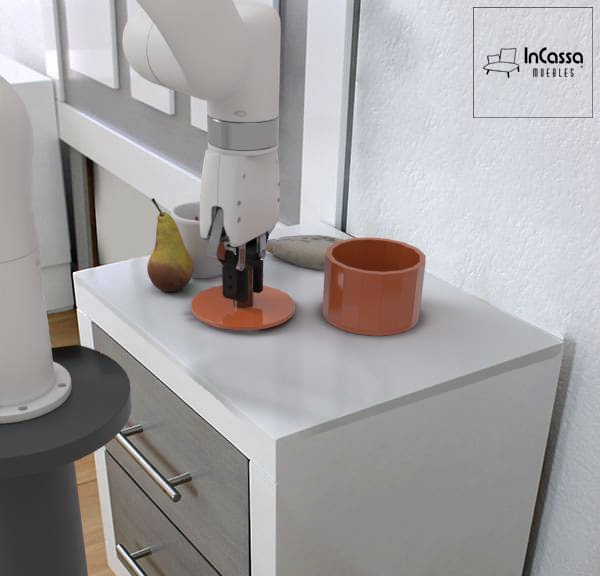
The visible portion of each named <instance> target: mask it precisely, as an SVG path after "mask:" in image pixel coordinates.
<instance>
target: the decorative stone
mask: <svg viewBox="0 0 600 576" xmlns="http://www.w3.org/2000/svg"><path fill="white" fill-rule="evenodd" d="M342 240H345V239H343V238H338V237H334V236H331V235H321V234H299V235H287V236H281V237H278V238H270V239H268V240H267V243H266V252H268V253H269V254H271V255H275V257H278V258H280V259H282V260H283V261H286V262H289V263H290V264H293V265H296V266H298V267H303V268H308V269H314V270H321V271H325V255H326V251H327V248H328V247H329V246H331V245H332V244H334V243H336V242H338V241H342Z"/></svg>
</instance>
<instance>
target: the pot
mask: <svg viewBox="0 0 600 576" xmlns="http://www.w3.org/2000/svg"><path fill="white" fill-rule="evenodd" d="M426 259H427V257H426V254H425V253H424V252H423V251H422V250H421V249H420V248H418V247H416V246H414V245H411V244H409V243H406V242H403V241H399V240H395V239H390V238H384V237H383V238H381V237H369V236H368V237H351V238H347V239H344V240H342V241H338V242H336V243H334V244H332V245H331V246H329V247H328V248H327V251H326V255H325V270H324V275H323V295H322V315H323V318H324V320H325V321H326V322H328V324H330V325H332V326H333V327H335V328H337V329H339V330H342V331H345V332H348V333H352V334H357V335H360V336H361V335H363V336H372V337H373V336H374V337H377V336H379V337H383V336H393V335H398V334H402V333H404V332H407V331H410V330H411V329H413V328H415V327H416V325H417V324H418V323H419V319H420V312H421V304H422V295H423V288H424V279H425V273H426V272H425V270H426V264H427V263H426V262H427V260H426Z"/></svg>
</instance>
